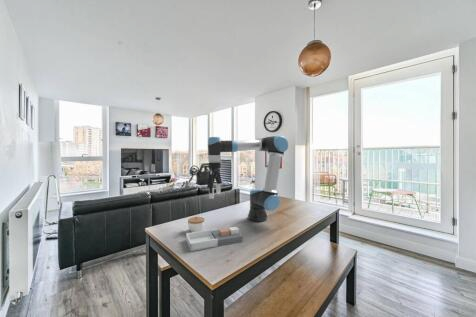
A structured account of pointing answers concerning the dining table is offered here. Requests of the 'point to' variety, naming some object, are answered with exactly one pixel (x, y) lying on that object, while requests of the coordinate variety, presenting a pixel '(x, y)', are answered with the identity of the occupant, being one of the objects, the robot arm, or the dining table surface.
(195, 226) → the lidded jar
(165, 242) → the dining table surface
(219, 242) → the board
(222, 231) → the tile
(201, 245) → the tray
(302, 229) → the dining table surface
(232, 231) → the tile
